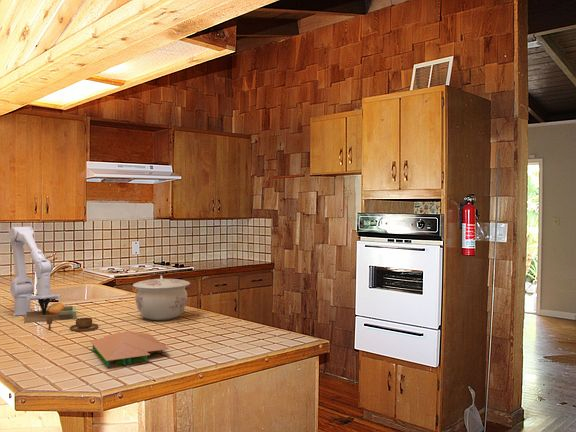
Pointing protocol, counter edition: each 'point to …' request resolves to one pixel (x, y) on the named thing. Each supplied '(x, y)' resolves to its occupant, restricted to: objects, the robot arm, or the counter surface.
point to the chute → (63, 315)
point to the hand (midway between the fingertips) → (44, 314)
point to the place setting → (78, 324)
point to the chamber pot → (161, 298)
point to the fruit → (55, 308)
